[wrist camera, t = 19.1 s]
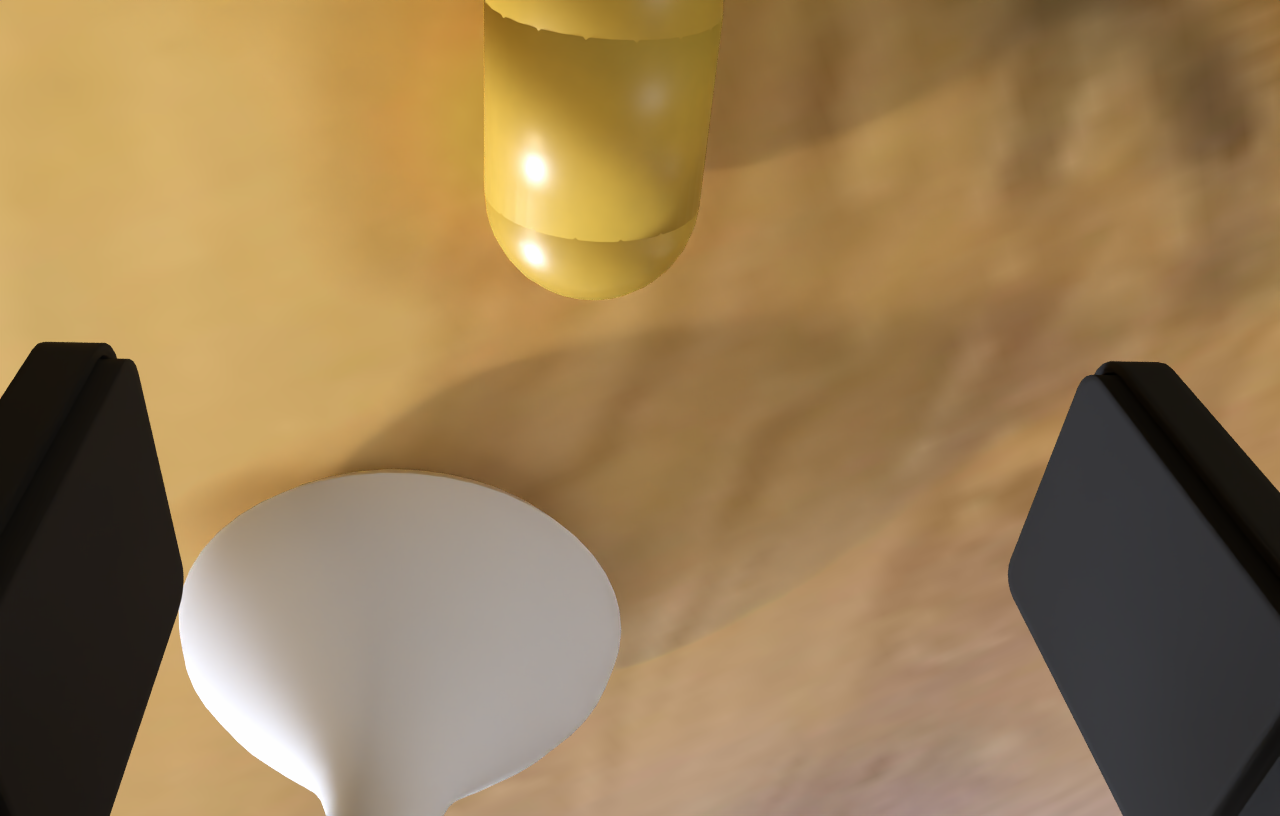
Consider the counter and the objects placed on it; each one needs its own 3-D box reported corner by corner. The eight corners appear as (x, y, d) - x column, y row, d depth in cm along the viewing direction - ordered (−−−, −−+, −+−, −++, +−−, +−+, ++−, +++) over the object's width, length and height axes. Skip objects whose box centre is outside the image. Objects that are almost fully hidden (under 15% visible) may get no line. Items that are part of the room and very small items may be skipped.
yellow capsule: (487, -160, 19) (478, -113, 16) (719, -141, 20) (759, -93, 16) (487, 236, 24) (480, 337, 20) (676, 243, 24) (700, 343, 21)
